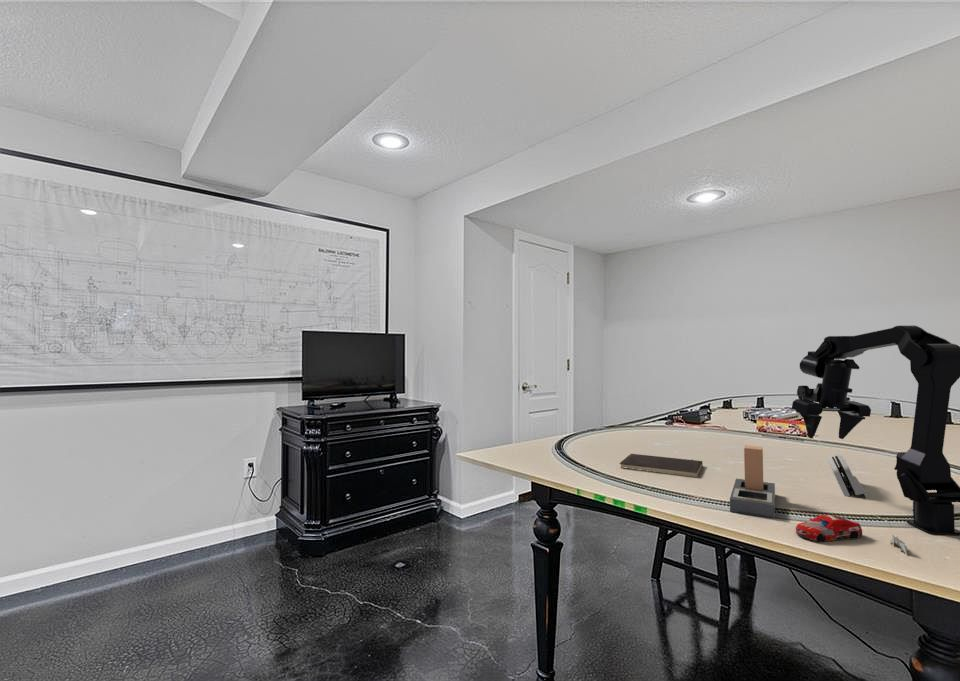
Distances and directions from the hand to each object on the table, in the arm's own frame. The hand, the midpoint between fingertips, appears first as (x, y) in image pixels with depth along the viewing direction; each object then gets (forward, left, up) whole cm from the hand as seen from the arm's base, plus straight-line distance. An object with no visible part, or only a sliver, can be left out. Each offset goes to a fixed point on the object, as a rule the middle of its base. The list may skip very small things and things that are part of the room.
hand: (825, 438), depth 126 cm
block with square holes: (-13, +24, -14) cm, 31 cm away
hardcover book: (+21, +38, -15) cm, 46 cm away
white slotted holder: (+2, -6, -15) cm, 16 cm away
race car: (-33, +18, -15) cm, 40 cm away
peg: (-8, +22, -14) cm, 28 cm away
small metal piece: (-38, +8, -15) cm, 42 cm away
